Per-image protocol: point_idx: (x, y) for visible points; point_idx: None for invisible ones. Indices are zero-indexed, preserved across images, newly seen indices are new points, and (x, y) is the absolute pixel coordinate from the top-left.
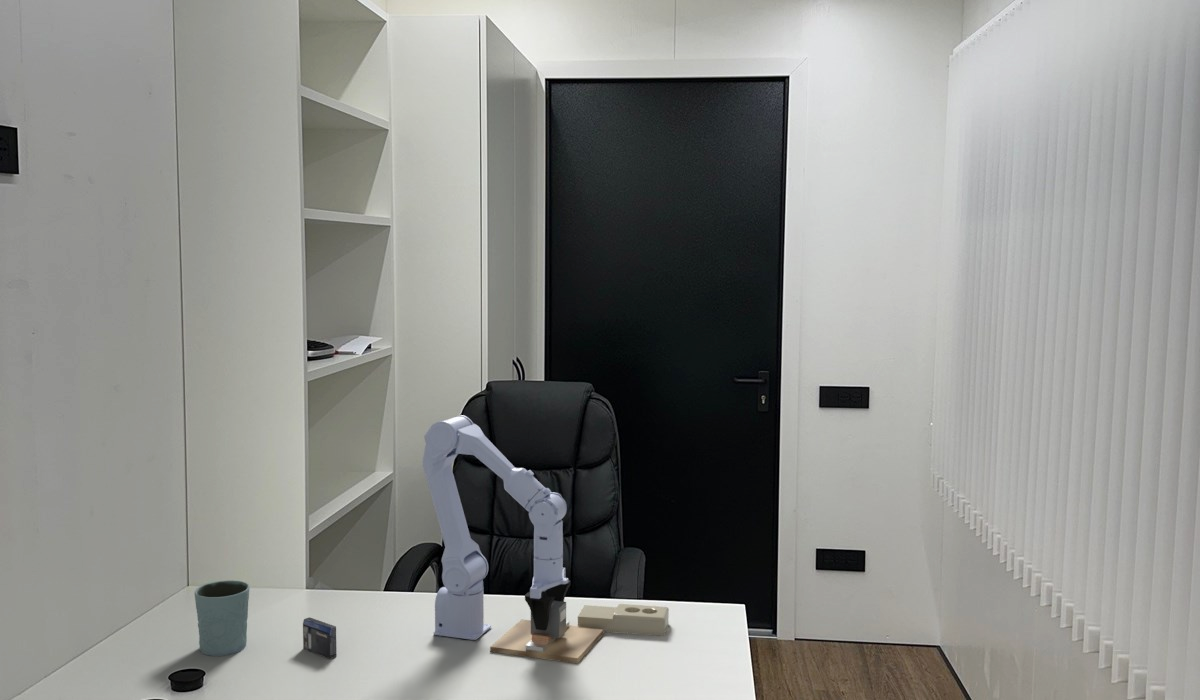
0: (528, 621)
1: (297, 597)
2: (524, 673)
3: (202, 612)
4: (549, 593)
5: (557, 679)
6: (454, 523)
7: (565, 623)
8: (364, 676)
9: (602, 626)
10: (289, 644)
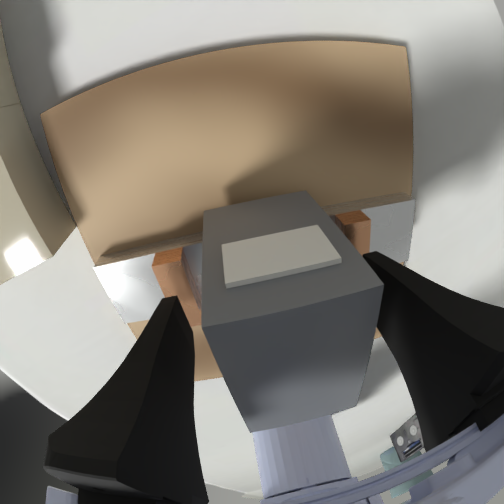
0: None
1: None
2: (481, 180)
3: None
4: (190, 440)
5: (488, 83)
6: None
7: (214, 229)
8: None
9: (21, 140)
10: (385, 442)
